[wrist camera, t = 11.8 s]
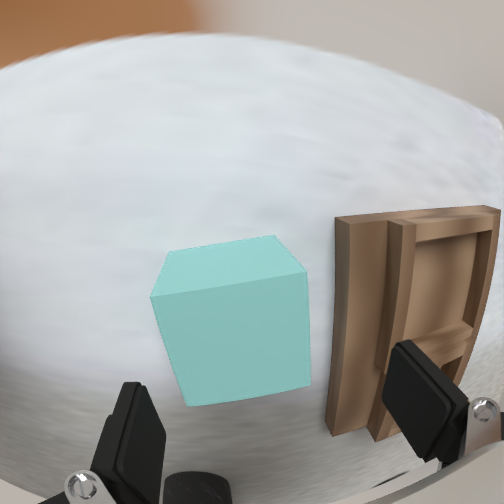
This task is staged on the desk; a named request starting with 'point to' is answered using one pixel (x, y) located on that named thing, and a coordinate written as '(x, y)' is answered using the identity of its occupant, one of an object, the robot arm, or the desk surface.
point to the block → (234, 320)
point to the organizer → (405, 301)
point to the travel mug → (196, 489)
